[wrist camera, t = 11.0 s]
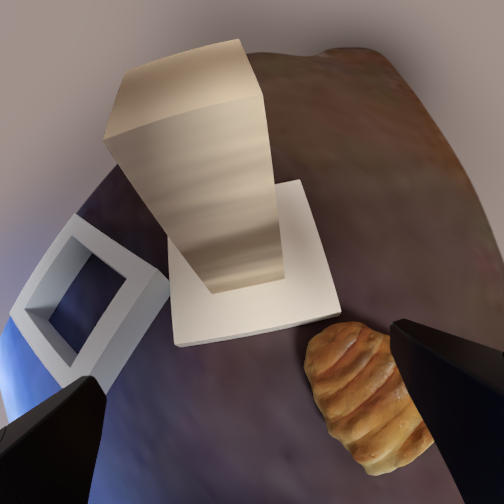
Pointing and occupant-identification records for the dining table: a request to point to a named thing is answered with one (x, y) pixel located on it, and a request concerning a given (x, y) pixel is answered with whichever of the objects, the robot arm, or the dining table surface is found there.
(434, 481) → the dining table surface
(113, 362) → the holder
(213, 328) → the tile
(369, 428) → the pastry
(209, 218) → the peg
